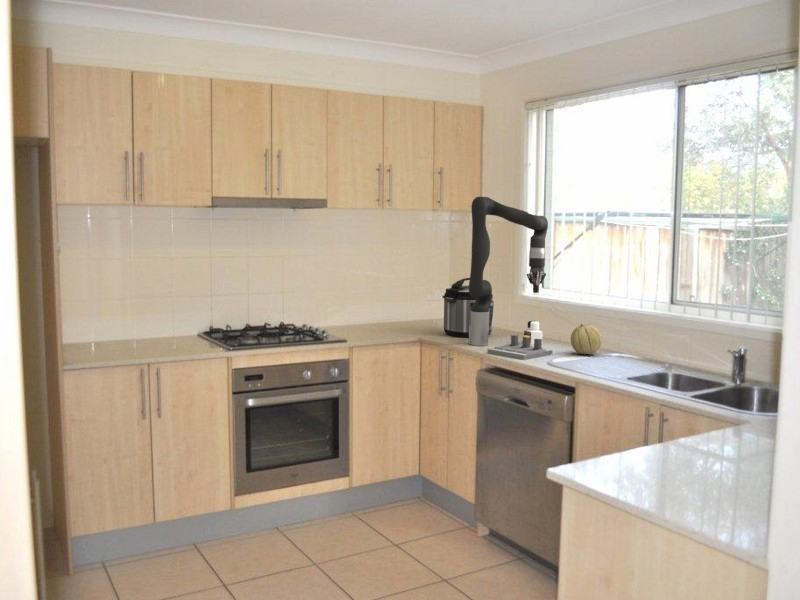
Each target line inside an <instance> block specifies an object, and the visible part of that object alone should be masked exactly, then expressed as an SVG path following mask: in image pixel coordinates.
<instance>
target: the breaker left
mask: <svg viewBox="0 0 800 600" xmlns="http://www.w3.org/2000/svg"><path fill="white" fill-rule="evenodd" d="M509 344H510V346H517V345H520V344H519V335H517V334H511V335H510V343H509Z"/></svg>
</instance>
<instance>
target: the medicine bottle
mask: <svg viewBox="0 0 800 600" xmlns="http://www.w3.org/2000/svg"><path fill="white" fill-rule="evenodd" d="M543 334H544V332H543V330H540V321H536V320H530V321H527V329H524V330H523V336H525V335H526V336H530V346H534V339H537V338H538V339H542V340H543Z"/></svg>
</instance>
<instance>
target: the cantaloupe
mask: <svg viewBox="0 0 800 600" xmlns="http://www.w3.org/2000/svg"><path fill="white" fill-rule="evenodd" d="M602 343H603V337H602V335H601V332H600V330H598V328H597V327H595V326H594V325H590V324H582V323H581V324H580V325H579V326H577V327H576V328H574V329H573V331H572V332H571V334H570V345H571V347H572V349H573V350H574V351H575V352H576V353H578V354H579V355H583V354H584V356H586V354H591V355H594V354H595V353H597V352H598V351H599V350H600V349H601V346H602Z"/></svg>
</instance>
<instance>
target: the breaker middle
mask: <svg viewBox="0 0 800 600" xmlns="http://www.w3.org/2000/svg"><path fill="white" fill-rule="evenodd" d="M521 341H522V343H521V345H522V348H528V347H530V346H531V345H530V336H526V335H525V336H524V335H522V340H521ZM522 348H521V349H522Z"/></svg>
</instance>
